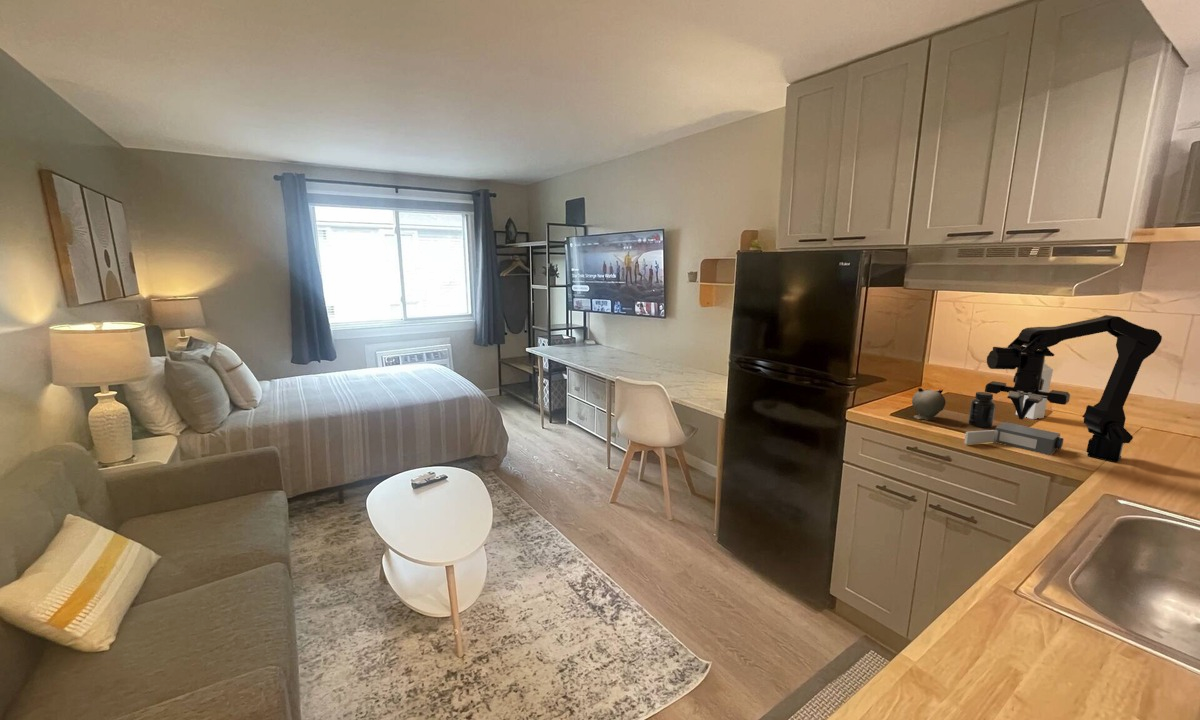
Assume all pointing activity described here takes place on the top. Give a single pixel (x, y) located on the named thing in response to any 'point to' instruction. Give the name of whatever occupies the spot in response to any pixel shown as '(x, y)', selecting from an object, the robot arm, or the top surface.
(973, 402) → the supplement bottle
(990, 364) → the robot arm
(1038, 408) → the milk
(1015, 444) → the grey rectangular box
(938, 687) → the top surface
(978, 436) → the side door
